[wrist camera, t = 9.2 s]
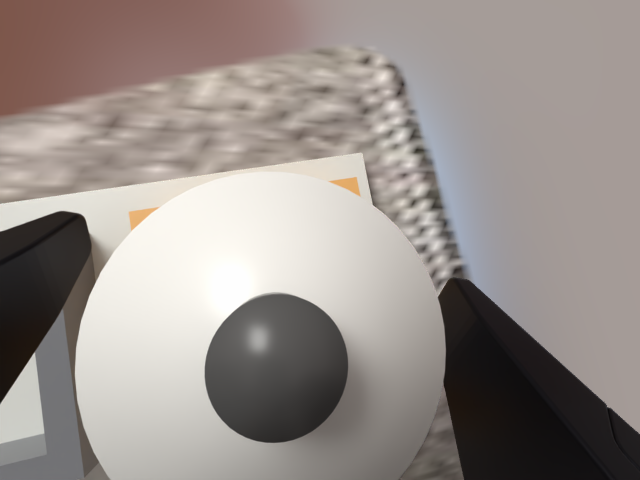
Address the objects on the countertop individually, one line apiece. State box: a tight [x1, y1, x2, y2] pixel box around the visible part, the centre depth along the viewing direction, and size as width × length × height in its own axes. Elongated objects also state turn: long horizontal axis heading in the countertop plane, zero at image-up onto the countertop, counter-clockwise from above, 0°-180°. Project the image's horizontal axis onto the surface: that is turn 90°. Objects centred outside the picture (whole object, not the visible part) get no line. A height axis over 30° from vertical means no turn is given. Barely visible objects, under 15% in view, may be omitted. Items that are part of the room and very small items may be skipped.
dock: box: [0, 153, 373, 480], centre depth 14 cm, size 12×22×4 cm, turn 101°
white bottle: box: [75, 172, 446, 480], centre depth 9 cm, size 5×5×12 cm
